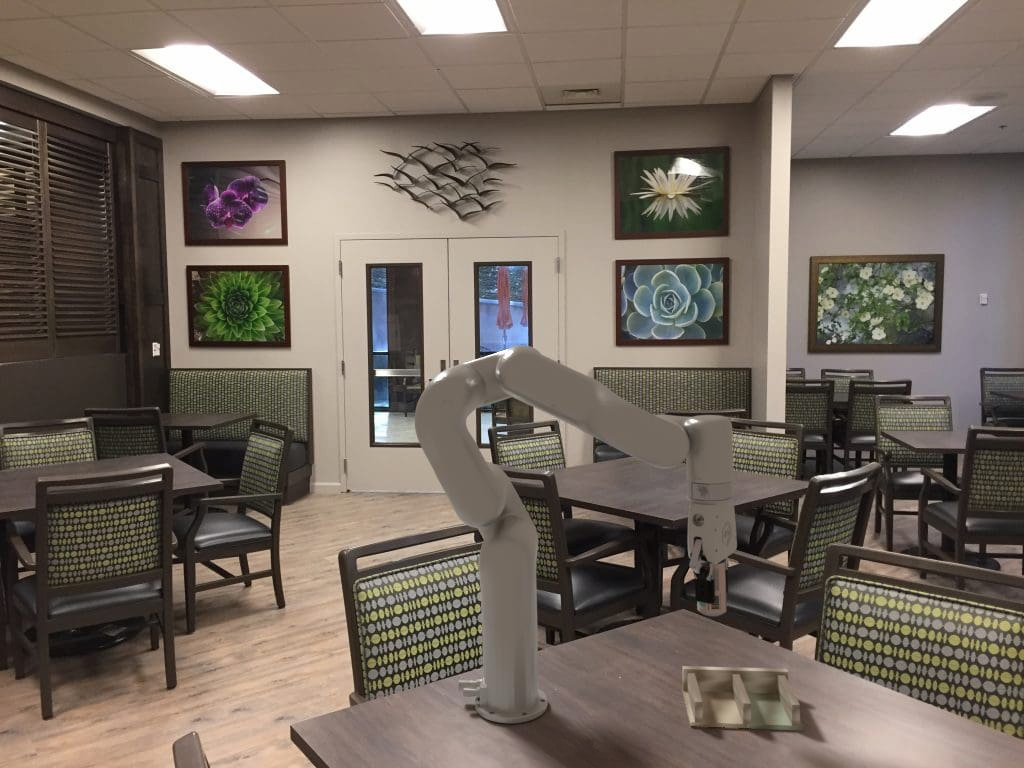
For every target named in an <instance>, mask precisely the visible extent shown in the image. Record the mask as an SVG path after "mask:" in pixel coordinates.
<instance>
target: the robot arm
mask: <svg viewBox="0 0 1024 768" xmlns="http://www.w3.org/2000/svg"><path fill="white" fill-rule="evenodd" d="M510 398H513V399H516V400H517V401H519V402H522V403H524V404H527V405H528V406H530V407H532V408H535V409H537V410H540V411H541V412H542V413H543V412H544V413H545V414H548V415H550V416H553V417H554V418H556V419H558V420H560V421H562V422H565V423H567V424H569V425H570V426H572V427H574V428H577V429H578V430H580V431H581V432H583V433H585V434H587V435H589V436H591V437H593V438H596V439H597V440H600V441H601V442H603V443H604V444H607V445H609V446H610V447H612V448H614V449H616V450H618V451H620V452H623V453H624V454H627V455H629V456H631V457H632V458H635V459H637V460H638V461H641V462H644V463H645V464H647V465H650V466H652V467H655V468H659V469H663V470H664V469H673V468H675V467H678V466H679V465H681V464H682V463H683V462H684V461H685V469H686V470H685V472H686V475H685V476H686V500H687V501H689V503H688V504H689V506H688V516H687V553H688V558H689V559H690V561H689V569H690V570H692V573H693V579H694V588H695V589H694V593H695V595H694V597H695V598H694V599H695V601H696V602H697V601H699V602H704V603H709V604H713V603H714V602H715V580H713V579H712V575H713V564H717V563H719V562H721V561H722V560H724V559H725V558H726V594H727V593H729V570H728V569H729V566H730V565H729V564H730V563H729V556H731V555H733V553H735V552H736V550H737V547H738V538H737V524H736V523H737V522H736V513H735V512H736V511H735V503H734V500H735V499H734V460H733V459H734V453H733V452H734V451H733V447H734V445H733V443H734V442H733V424H732V422H731V420H730V418H728V417H727V416H724V415H719V414H717V415H716V414H702V415H694V416H681V415H672V414H663V413H662V414H653V413H651V412H649V411H647V410H645V409H643V408H641V407H638V406H637V405H635V404H633V403H631V402H629V401H627V400H625V399H624V398H622V397H620V396H619V395H618V394H616V393H614V392H613V391H612V390H611V389H610V388H608V386H606V385H605V384H603V383H601V382H600V381H599V380H597V379H595V378H593V377H591V376H589V375H586V374H584V373H582V372H580V371H577V370H575V369H573V368H571V367H568V366H566V365H564V364H562V363H561V362H558V361H556V360H554V359H552V358H550V357H548V356H546V355H544V354H542V353H541V352H540V351H539V350H538V349H536V348H535V347H533V346H530V345H525V344H519V345H514V346H512V347H510V348H507V349H505V350H501V351H498V352H495V353H493V354H489V355H486V356H483V357H479V358H477V359H473V360H469V361H467V362H463V363H460V364H455V365H454V366H451V367H449V368H446V369H444V370H443V371H441V372H438V374H437V375H435V376H434V377H433V378H432V379H431V380H430V382H429V383H428V384H427V385H426V387H425V389H424V390H423V392H422V393H421V395H420V397H419V399H418V401H417V404H416V407H415V411H414V429H415V433H416V434H415V435H416V437H417V440H418V442H419V444H420V447H421V449H422V451H423V453H424V455H425V457H426V458H427V460H428V462H429V464H430V466H431V467H432V469H433V471H434V472H433V473H434V474H435V476H436V479H437V480H438V481H439V484H440V485H441V487H442V489H443V491H444V492H445V494H446V497H447V498H448V500H449V502H450V505H451V506H452V509H453V511H454V512H455V514H456V516H457V517H458V519H459V520H461V522H462V523H463V524H465V525H466V526H468V527H471V528H475V529H477V530H478V532H479V533H480V535H481V537H482V539H483V541H482V544H481V546H480V547H481V548H480V551H479V556H478V557H479V558H478V575H479V577H478V578H479V585H480V603H481V604H480V606H481V611H480V612H481V634H482V635H481V636H482V637H481V639H482V677H481V678H480V677H478V678H477V679H476V680H474V679H473V680H472V679H463V678H462V679H458V692H462V696H463V697H465V698H466V697H475V698H474V708H475V711H476V712H477V714H478V715H480V717H482V718H484V719H486V720H488V721H491V722H495V723H500V724H519V723H526V722H530V721H532V720H535V719H537V718H539V717H540V716H542V715H543V714H544V713H545V712H546V711H547V709H548V697H547V694H546V693H545V692H544V691H543V690H541V689H540V688H539V650H538V649H539V646H538V645H539V643H538V642H539V641H538V602H537V601H538V597H537V558H538V547H539V535H538V530H537V528H536V526H535V523H534V522H533V520H532V518H531V516H530V515H529V513H528V510H527V509H526V507H525V504H523V502H522V499H521V498H520V496H519V494H518V493H517V491H516V488H515V487H514V485H513V483H512V481H511V479H510V478H509V477H508V475H507V474H506V472H505V471H504V470H503V469H502V468H501V467H499V466H498V465H496V464H494V463H491V462H487V461H486V459H485V458H484V456H483V454H482V452H481V450H480V447H479V446H478V443H477V442H476V440H475V439H474V437H473V436H472V434H471V433H470V431H469V429H468V427H467V419H468V417H469V416H470V415H471V414H472V413H473V412H474V411H475V410H476V409H479V408H482V407H485V406H489V405H492V404H494V403H498V402H501V401H505V400H508V399H510ZM702 556H703V557H706V559H707V560H702V559H701V558H702ZM701 564H706V565H707V570H706V569H705V567H702V565H701Z"/></svg>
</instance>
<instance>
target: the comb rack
mask: <svg viewBox="0 0 1024 768" xmlns="http://www.w3.org/2000/svg"><path fill="white" fill-rule="evenodd" d="M681 668H682V679H681V680H682V688H681V690H682V696H683V699H684V700H685V701H684V705H685V704H686V705H685V709H686V708H687V709H686V713H687V717H689V718H688V721H690V722H689V725H691V726H697V727H696V728H708V727H722V728H721V729H739V728H749V729H748V730H770V729H771V730H774V731H775V730H777V731H801V732H802V731H805V725H804V723H803V721H802V719H801V704H800V702H799V700H798V699H797V696H796V694H795V693H794V691H793V689H792V686H791V685H790V683H789V670H788V669H787V668H774V667H773V668H771V667H770V668H769V667H735V666H732V667H731V666H727V667H726V666H700V665H699V666H696V665H695V666H694V665H693V666H692V665H691V666H690V665H689V666H688V665H682V667H681ZM691 726H690V727H691ZM699 726H700V727H699ZM723 727H725V728H723ZM750 728H751V729H750Z"/></svg>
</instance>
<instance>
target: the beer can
mask: <svg viewBox="0 0 1024 768" xmlns="http://www.w3.org/2000/svg"><path fill="white" fill-rule="evenodd" d="M701 559H702V560H707V559H706V557H703V556H702V558H701ZM701 565H702V567H705V569H706V570H707V565H706V564H701ZM726 570H727V569H726V558H725V559H724V560H722V561H721V562H719V563H717V564H713V575H712V579H713V580H715V602H714V603H713V604H709V603H704V602H699V601H696V602H697V603H696V607H697V609H696V610H697V611H698V612H699V613H701V614H703V615H705V616H707V617H719V616H722V615H723V614H725V613H727V611H728V609H727V607H728V606H727V605H728V604H727V593H726Z"/></svg>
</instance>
